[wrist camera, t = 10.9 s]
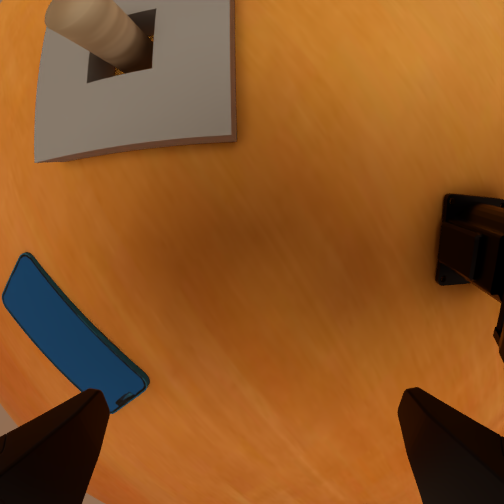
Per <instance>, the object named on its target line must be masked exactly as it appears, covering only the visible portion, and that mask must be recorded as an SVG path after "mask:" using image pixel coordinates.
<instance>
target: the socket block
mask: <svg viewBox="0 0 504 504" xmlns="http://www.w3.org/2000/svg"><path fill="white" fill-rule="evenodd" d="M113 1H114V2H115V3H116V4H117V5H118V6H119V7H120V8H121V9H122V10H123V11H124V12H125V13H126V14H127V15H128V16H129V17H130V18H131V19H132V21H133V22H134V23H135V24H136V25H137V26H138V27H139V28H140V29H141V30H142V31H143V32H144V33H145V34H146V35H147V36H151V35H154V42H153V59H152V69H146V70H141V71H136V72H131V73H126V74H122V75H117V76H114V72H115V67H114V66H112V65H111V64H109V63H108V62H106V61H104V60H103V59H101V58H99V57H98V56H96V55H95V54H93V53H91V52H89V51H88V50H86V49H84V48H83V47H81V46H79V45H78V44H76V43H74V42H72V41H71V40H69V39H67V38H65V37H63V36H62V35H60V34H58V33H56V32H54V31H53V30H51V29H49V28H48V27H46V32H45V37H44V42H43V48H42V54H41V60H40V67H39V75H38V84H37V95H36V108H35V134H34V155H35V163H43V162H66V161H71V160H76V159H82V158H87V157H93V156H99V155H105V154H111V153H118V152H125V151H132V150H140V149H148V148H157V147H167V146H177V145H189V144H202V143H218V142H237V127H236V79H235V3H234V0H113Z"/></svg>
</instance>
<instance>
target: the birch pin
mask: <svg viewBox="0 0 504 504" xmlns="http://www.w3.org/2000/svg"><path fill="white" fill-rule="evenodd" d="M45 24H46V26H47V27H48V28H49V29H51V30H53V31H54V32H56V33H58V34H60V35H62V36H63V37H65V38H67V39H69V40H71V41H72V42H74V43H76V44H78V45H79V46H81V47H83V48H84V49H86V50H88V51H89V52H91V53H93V54H95V55H96V56H98V57H99V58H101V59H103V60H104V61H106V62H108V63H109V64H111V65H112V66H114V67H116V68H117V69H119V70H120V71H122V72H124V73H125V74H126V73H131V72H136V71H141V70H146V69H152V59H153V42H152V41H151V40H150V39H149V38H148V36H147V35H146V34H145V33H144V32H143V31H142V30H141V29H140V28H139V27H138V26H137V25H136V24H135V23H134V22H133V21H132V19H131V18H130V17H129V16H128V15H127V14H126V13H125V12H124V11H123V10H122V9H121V8H120V7H119V6H118V5H117V4H116V3H115V2H114V1H113V0H52V2H51V3H50V5H49V7H48V9H47V11H46V14H45Z"/></svg>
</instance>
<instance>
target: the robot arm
mask: <svg viewBox="0 0 504 504" xmlns="http://www.w3.org/2000/svg"><path fill="white" fill-rule="evenodd" d="M450 199H452V203H451V204H450ZM500 205H501V207H500ZM442 276H443V279H442V280H441V277H442ZM436 282H437V283H438V284H439V285H442V286H444V285H456V284H467V283H472V284H473V285H475V286H476V287H478V288H479V289H481V290H482V291H484V292H485V293H487V294H488V295H490V296H491V297H493V298H494V299H496V300H497V301H499V302H500V303H501V308H500V313H499V318H498V322H497V327H495V330H494V334H493V336H494V338H495V340H496V342H497V344H498V346H499V354H500V356H501V358H502V360H503V362H504V200H503V199H497V198H489V197H480V196H471V195H461V194H450V193H449V194H447V195H446V196H445V197H444V206H443V220H442V226H441V236H440V245H439V253H438V265H437V271H436ZM109 416H110V410H109V407H108V404H107V402H106V399H105V397H104V394H103V392H102V391H101V390H98V389H93V388H89V389H87V390H85V391H83V392H81V393H80V394H78V395H76V396H74V397H73V398H71V399H69V400H67V401H65V402H64V403H62V404H60V405H58V406H56V407H55V408H53V409H51V410H49V411H47V412H46V413H44V414H42V415H40V416H38V417H36V418H35V419H33V420H31V421H29V422H27V423H25V424H24V425H22V426H20V427H18V428H16V429H14V430H12V431H10V432H9V433H7V434H4V435H3V436H1V437H0V504H82V502H83V499H84V496H85V493H86V490H87V487H88V485H89V482H90V479H91V476H92V473H93V471H94V468H95V465H96V462H97V460H98V457H99V454H100V450H101V447H102V443H103V439H104V435H105V431H106V427H107V423H108V420H109ZM398 418H399V422H400V426H401V430H402V435H403V439H404V443H405V448H406V452H407V456H408V459H409V462H410V465H411V468H412V471H413V474H414V477H415V480H416V483H417V486H418V489H419V492H420V495H421V499H422V502H423V504H504V437H503V436H500V435H499V434H497V433H495V432H494V431H492V430H490V429H488V428H487V427H485V426H483V425H481V424H480V423H478V422H476V421H474V420H473V419H471V418H469V417H468V416H466V415H464V414H462V413H461V412H459V411H457V410H456V409H454V408H452V407H451V406H449V405H447V404H445V403H444V402H442V401H440V400H439V399H437V398H435V397H434V396H432V395H430V394H429V393H427V392H425V391H424V390H422V389H420V388H418V387H414V388H409V389H406V390H405V391H404V393H403V396H402V399H401V402H400V404H399V407H398Z"/></svg>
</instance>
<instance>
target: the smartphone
mask: <svg viewBox="0 0 504 504" xmlns="http://www.w3.org/2000/svg"><path fill="white" fill-rule="evenodd" d="M2 301H3V304H4V306H5V308H6V309H7V310H8V312H9V313H10V314H11V316H12V317H13V318H14V319H15V321H16V322H17V323H18V324H19V326H20V327H21V328H22V329H23V331H24V332H25V333H26V334H27V335H28V337H29V338H30V339H31V340H32V341H33V343H34V344H35V345H36V346H37V347H38V348H39V349H40V350H41V352H42V353H43V354H44V355H45V356H46V357H47V358H48V359H49V360H50V361H51V362H52V363H53V365H54V366H55V367H56V368H57V369H58V370H59V371H60V372H61V373H62V374H63V375H64V376H65V377H66V378H67V379H68V380H69V381H70V382H71V383H72V384H73V385H75V386H76V387H77V388H78V389H79V390H80V391H81V392H83V391H85V390H87V389H89V388H93V389H98V390H101V391H102V392H103V394H104V397H105V399H106V402H107V404H108V407H109V410H110V414H113V413H115V412H117V411H118V410H119V409H121V408H122V407H124V406H125V405H126V404H128V403H129V402H130V401H132V400H133V399H135V398H136V397H137V396H139V395H140V394H141V393H143V392H144V391H145V390H146V389H147V387H148V385H149V378H148V376H147V375H146V373H144V372H143V371H142V370H141V369H140V368H139V367H138V366H137V365H135V364H134V363H133V362H132V361H131V360H130V359H129V358H128V357H127V356H125V355H124V354H123V353H122V352H121V351H120V350H119V349H118V348H117V347H116V346H115V345H114V344H113V343H111V342H110V341H109V340H108V339H107V338H106V337H105V336H104V335H103V334H102V333H101V332H100V331H99V330H98V329H97V328H96V327H95V326H94V325H93V324H92V323H91V322H90V321H89V320H88V319H87V318H86V317H85V316H84V315H83V314H82V312H81V311H80V310H79V309H78V308H77V307H76V306H75V305H74V304H73V303H72V302H71V301H70V299H69V298H68V297H67V296H66V295H65V294H64V293H63V292H62V290H61V289H60V288H59V287H58V286H57V285H56V283H55V282H54V281H53V280H52V279H51V277H50V276H49V275H48V274H47V273H46V271H45V270H44V269H43V268H42V267H41V265H40V264H39V263H38V261H37V260H36V259H35V258H34V256H33V255H32V254H30V253H28V252H26V253H23V254H21V255H20V257H19V259H18V261H17V263H16V265H15V267H14V269H13V271H12V273H11V275H10V278H9V280H8V282H7V284H6V287H5V289H4V291H3V294H2Z"/></svg>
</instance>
